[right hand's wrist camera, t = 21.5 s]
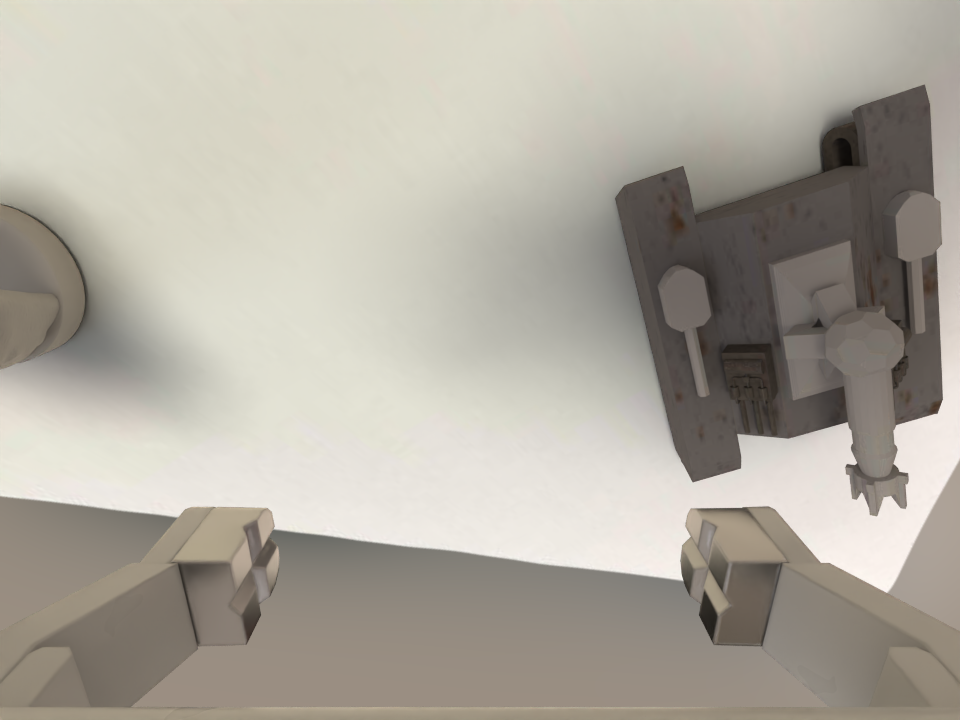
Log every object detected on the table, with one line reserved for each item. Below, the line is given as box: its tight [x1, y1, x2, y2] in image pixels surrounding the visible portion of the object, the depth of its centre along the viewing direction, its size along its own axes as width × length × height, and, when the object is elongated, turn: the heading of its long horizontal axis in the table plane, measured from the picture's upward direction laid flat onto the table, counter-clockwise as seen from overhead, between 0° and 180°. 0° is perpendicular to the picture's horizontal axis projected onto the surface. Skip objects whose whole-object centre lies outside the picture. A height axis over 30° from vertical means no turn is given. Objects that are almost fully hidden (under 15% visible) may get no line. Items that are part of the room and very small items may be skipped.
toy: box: [615, 85, 943, 516], centre depth 38 cm, size 25×20×15 cm
